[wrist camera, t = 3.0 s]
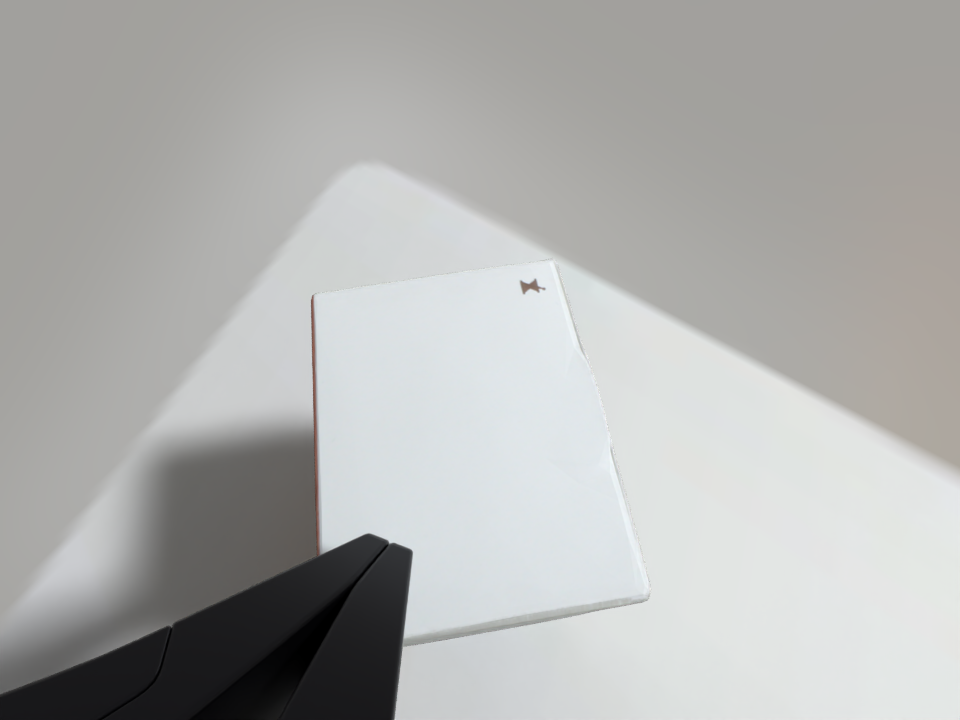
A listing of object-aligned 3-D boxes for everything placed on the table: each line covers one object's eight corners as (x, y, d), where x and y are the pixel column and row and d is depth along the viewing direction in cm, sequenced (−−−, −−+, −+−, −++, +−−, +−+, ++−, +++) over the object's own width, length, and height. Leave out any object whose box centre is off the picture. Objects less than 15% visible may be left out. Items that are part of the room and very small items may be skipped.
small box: (391, 452, 24) (306, 284, 13) (527, 430, 25) (561, 249, 13) (409, 650, 21) (312, 663, 9) (568, 620, 21) (666, 597, 10)
